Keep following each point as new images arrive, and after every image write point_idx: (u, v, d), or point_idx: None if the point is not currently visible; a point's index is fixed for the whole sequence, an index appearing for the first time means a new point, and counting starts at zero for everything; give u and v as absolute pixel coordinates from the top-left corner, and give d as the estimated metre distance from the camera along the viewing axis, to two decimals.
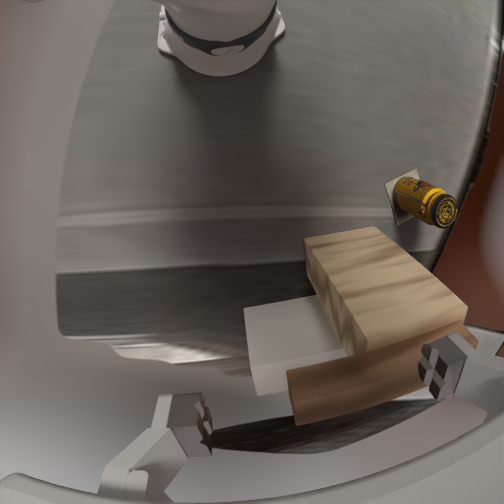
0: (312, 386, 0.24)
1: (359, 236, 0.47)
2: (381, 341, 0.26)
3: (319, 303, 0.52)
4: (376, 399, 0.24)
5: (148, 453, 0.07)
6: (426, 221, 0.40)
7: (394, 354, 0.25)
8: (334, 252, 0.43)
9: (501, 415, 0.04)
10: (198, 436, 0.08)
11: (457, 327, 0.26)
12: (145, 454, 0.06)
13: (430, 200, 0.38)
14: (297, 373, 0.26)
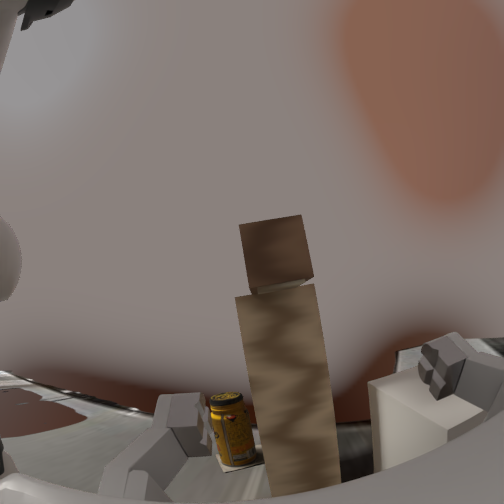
0: None
1: None
2: None
3: None
4: None
5: (148, 453, 0.07)
6: (241, 414, 0.41)
7: None
8: None
9: (501, 415, 0.04)
10: (198, 436, 0.08)
11: None
12: (145, 454, 0.06)
13: (215, 411, 0.41)
14: None
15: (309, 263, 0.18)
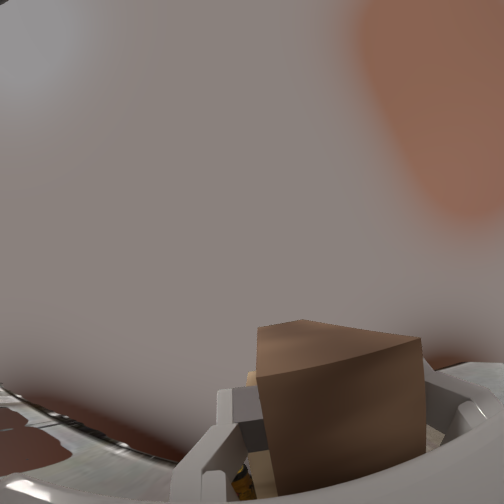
0: None
1: None
2: None
3: None
4: (318, 330, 0.14)
5: (219, 451, 0.07)
6: (245, 491, 0.28)
7: None
8: None
9: (501, 415, 0.04)
10: None
11: None
12: (216, 453, 0.06)
13: None
14: None
15: (421, 448, 0.06)
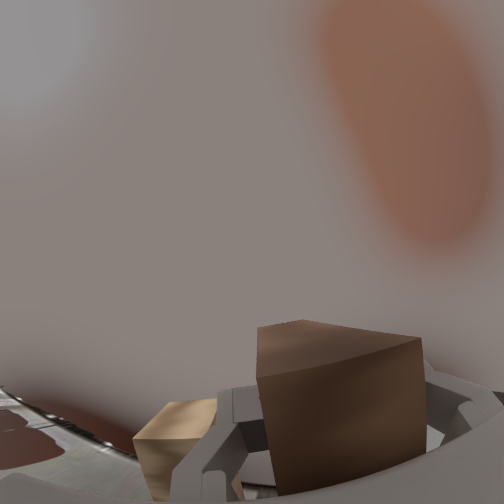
0: None
1: None
2: (144, 433, 0.23)
3: None
4: (318, 330, 0.14)
5: (218, 451, 0.07)
6: None
7: None
8: None
9: (501, 415, 0.04)
10: None
11: None
12: (216, 453, 0.06)
13: None
14: None
15: (422, 448, 0.06)
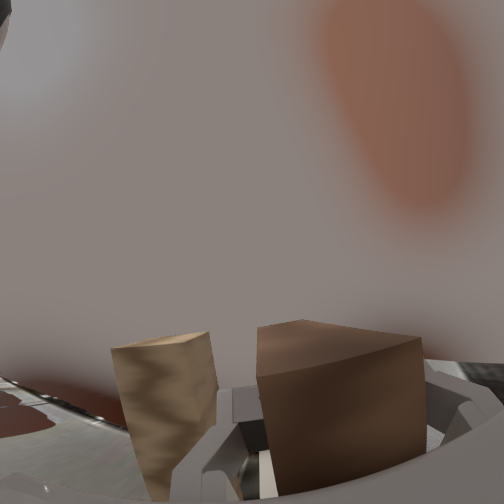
0: None
1: None
2: (124, 346, 0.25)
3: None
4: (318, 329, 0.14)
5: (219, 451, 0.07)
6: None
7: None
8: None
9: (501, 415, 0.04)
10: (265, 429, 0.08)
11: None
12: (216, 453, 0.06)
13: None
14: None
15: (422, 448, 0.06)
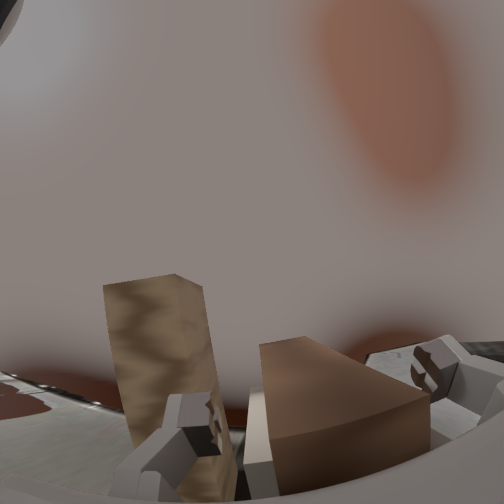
0: None
1: None
2: None
3: None
4: (323, 359, 0.14)
5: (160, 453, 0.07)
6: None
7: None
8: None
9: (501, 415, 0.04)
10: (209, 435, 0.08)
11: None
12: (157, 455, 0.06)
13: None
14: None
15: None
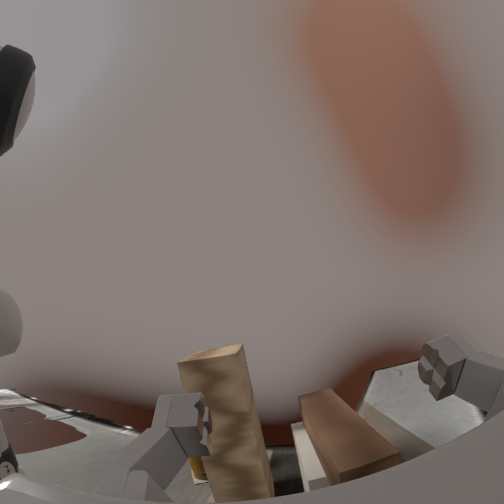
0: (334, 476, 0.15)
1: None
2: (186, 359, 0.34)
3: None
4: (350, 421, 0.21)
5: (148, 453, 0.07)
6: None
7: (315, 443, 0.23)
8: None
9: (501, 415, 0.04)
10: (198, 436, 0.08)
11: (303, 420, 0.31)
12: (145, 454, 0.06)
13: None
14: None
15: None
